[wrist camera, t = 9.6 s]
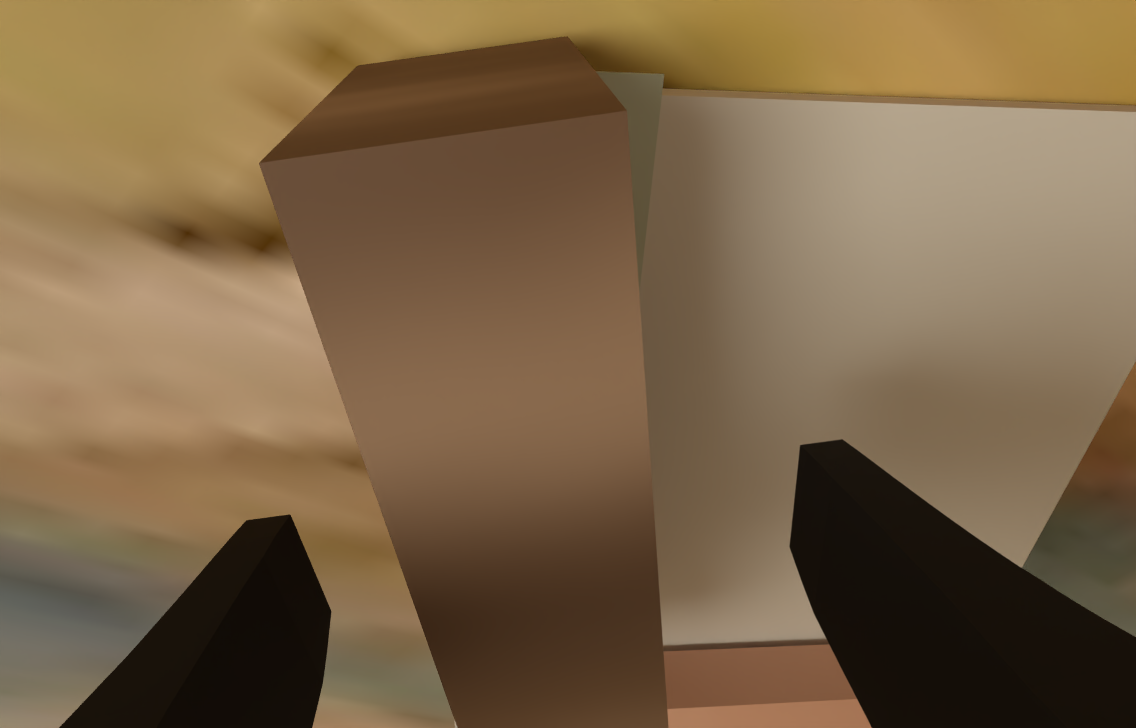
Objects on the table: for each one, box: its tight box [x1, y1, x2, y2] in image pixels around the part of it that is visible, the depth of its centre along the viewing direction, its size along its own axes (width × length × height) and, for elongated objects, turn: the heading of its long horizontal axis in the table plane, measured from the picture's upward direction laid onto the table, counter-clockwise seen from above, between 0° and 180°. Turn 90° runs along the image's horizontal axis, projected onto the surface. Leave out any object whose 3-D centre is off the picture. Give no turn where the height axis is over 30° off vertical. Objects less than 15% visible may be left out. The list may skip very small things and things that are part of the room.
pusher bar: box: [259, 36, 669, 728], centre depth 11 cm, size 12×3×5 cm, turn 7°
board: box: [455, 71, 1136, 728], centre depth 15 cm, size 14×17×1 cm
